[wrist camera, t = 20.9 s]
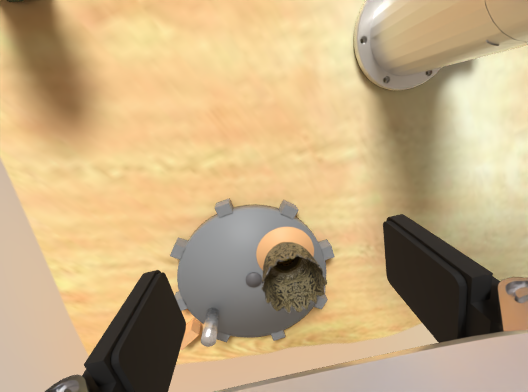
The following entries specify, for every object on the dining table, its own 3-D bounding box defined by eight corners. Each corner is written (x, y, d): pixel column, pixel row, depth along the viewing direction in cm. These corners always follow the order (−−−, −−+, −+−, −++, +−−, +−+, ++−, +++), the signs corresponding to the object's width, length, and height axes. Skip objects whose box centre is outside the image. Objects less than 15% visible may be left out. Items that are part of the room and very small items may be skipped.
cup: (313, 265, 37) (332, 304, 29) (265, 279, 37) (271, 321, 29) (303, 221, 34) (320, 250, 27) (251, 235, 34) (254, 269, 27)
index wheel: (258, 164, 34) (262, 176, 27) (355, 271, 40) (378, 301, 34) (141, 271, 37) (119, 304, 30) (248, 353, 44) (250, 395, 37)
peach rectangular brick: (193, 317, 41) (190, 329, 38) (201, 323, 41) (198, 335, 39) (177, 332, 41) (173, 345, 39) (185, 337, 42) (181, 350, 39)
